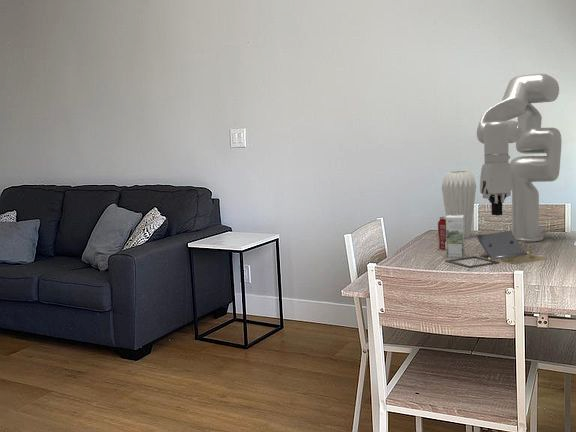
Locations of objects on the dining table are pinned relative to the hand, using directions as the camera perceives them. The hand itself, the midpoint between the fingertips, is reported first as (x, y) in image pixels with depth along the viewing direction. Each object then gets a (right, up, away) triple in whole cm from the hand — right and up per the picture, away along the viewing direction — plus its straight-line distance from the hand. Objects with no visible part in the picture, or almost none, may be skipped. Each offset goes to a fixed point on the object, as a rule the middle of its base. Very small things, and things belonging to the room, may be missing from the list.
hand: (496, 214), depth 203 cm
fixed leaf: (+5, -15, -7) cm, 17 cm away
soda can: (-12, -13, +16) cm, 24 cm away
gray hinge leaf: (+1, -11, 0) cm, 11 cm away
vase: (0, -9, +43) cm, 44 cm away
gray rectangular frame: (-11, -16, -9) cm, 21 cm away
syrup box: (-13, -15, +3) cm, 20 cm away
